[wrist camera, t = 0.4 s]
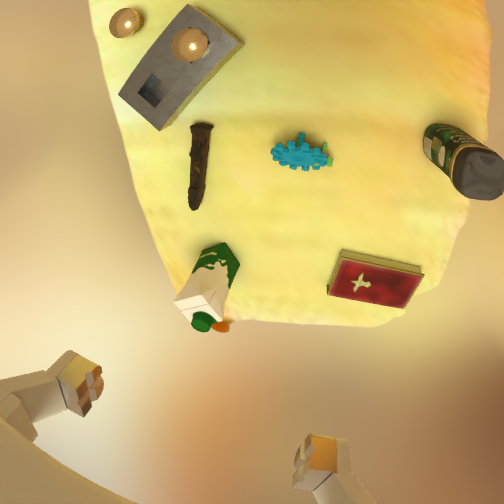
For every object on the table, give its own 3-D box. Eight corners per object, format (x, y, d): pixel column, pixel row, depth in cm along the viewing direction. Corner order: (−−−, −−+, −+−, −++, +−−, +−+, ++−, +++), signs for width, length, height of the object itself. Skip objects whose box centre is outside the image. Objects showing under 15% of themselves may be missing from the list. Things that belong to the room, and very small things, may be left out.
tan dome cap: (134, 4, 38) (122, 3, 35) (155, 18, 40) (142, 17, 37) (117, 28, 42) (104, 28, 38) (136, 43, 44) (123, 43, 40)
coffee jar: (465, 126, 41) (516, 160, 27) (460, 163, 46) (505, 208, 31) (423, 119, 43) (466, 150, 29) (420, 158, 48) (457, 203, 33)
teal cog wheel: (266, 166, 54) (275, 143, 44) (271, 139, 55) (280, 113, 45) (322, 179, 55) (340, 160, 45) (324, 152, 56) (342, 130, 46)
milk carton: (216, 275, 76) (191, 336, 61) (197, 248, 72) (164, 307, 57) (245, 266, 72) (224, 330, 57) (226, 237, 68) (197, 299, 53)
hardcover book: (401, 299, 70) (403, 310, 67) (326, 284, 72) (326, 296, 68) (420, 264, 62) (424, 276, 59) (340, 246, 64) (341, 258, 61)
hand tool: (196, 120, 53) (186, 126, 49) (215, 124, 53) (207, 129, 49) (187, 201, 65) (179, 212, 61) (204, 206, 65) (197, 216, 61)
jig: (198, 7, 38) (185, 3, 34) (244, 44, 42) (237, 42, 38) (131, 90, 50) (115, 95, 46) (170, 124, 54) (157, 132, 49)
